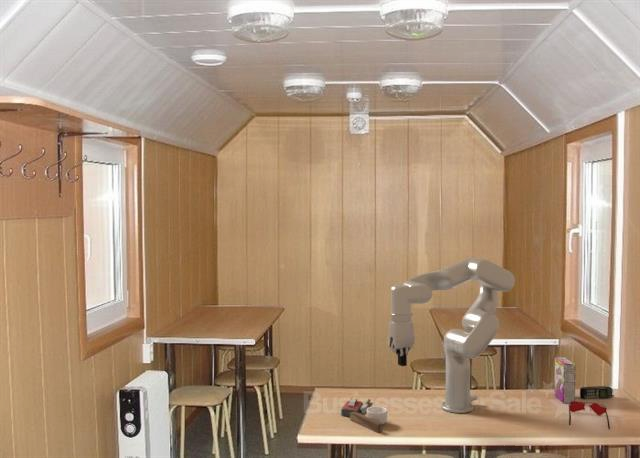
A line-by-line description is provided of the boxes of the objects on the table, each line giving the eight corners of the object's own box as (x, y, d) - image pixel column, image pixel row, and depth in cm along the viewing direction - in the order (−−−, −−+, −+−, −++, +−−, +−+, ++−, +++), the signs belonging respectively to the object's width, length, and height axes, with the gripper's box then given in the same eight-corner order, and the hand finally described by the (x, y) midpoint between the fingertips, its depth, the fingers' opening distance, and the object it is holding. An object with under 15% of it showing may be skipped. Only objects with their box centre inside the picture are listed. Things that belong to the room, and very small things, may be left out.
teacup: (386, 428, 240) (386, 413, 240) (365, 427, 241) (365, 412, 241) (388, 418, 250) (388, 405, 249) (368, 417, 251) (368, 403, 251)
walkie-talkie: (361, 420, 250) (372, 403, 269) (362, 408, 250) (372, 392, 269) (339, 417, 252) (351, 401, 271) (339, 406, 252) (351, 391, 271)
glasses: (606, 415, 253) (606, 403, 253) (610, 430, 238) (610, 417, 238) (568, 411, 258) (568, 399, 258) (568, 426, 242) (569, 413, 242)
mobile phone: (582, 388, 271) (616, 386, 273) (578, 386, 274) (612, 384, 276) (582, 400, 272) (616, 398, 273) (578, 398, 275) (612, 395, 276)
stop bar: (354, 419, 250) (354, 411, 249) (381, 431, 236) (381, 423, 236) (350, 420, 248) (350, 412, 248) (377, 432, 235) (377, 424, 235)
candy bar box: (553, 395, 278) (554, 357, 277) (565, 395, 278) (566, 357, 277) (563, 403, 266) (563, 364, 265) (575, 403, 266) (576, 364, 265)
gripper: (409, 313, 256) (410, 359, 257) (379, 319, 247) (380, 366, 249) (422, 316, 250) (423, 363, 251) (392, 322, 241) (393, 371, 243)
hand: (402, 365), depth 250 cm, fingers closed
